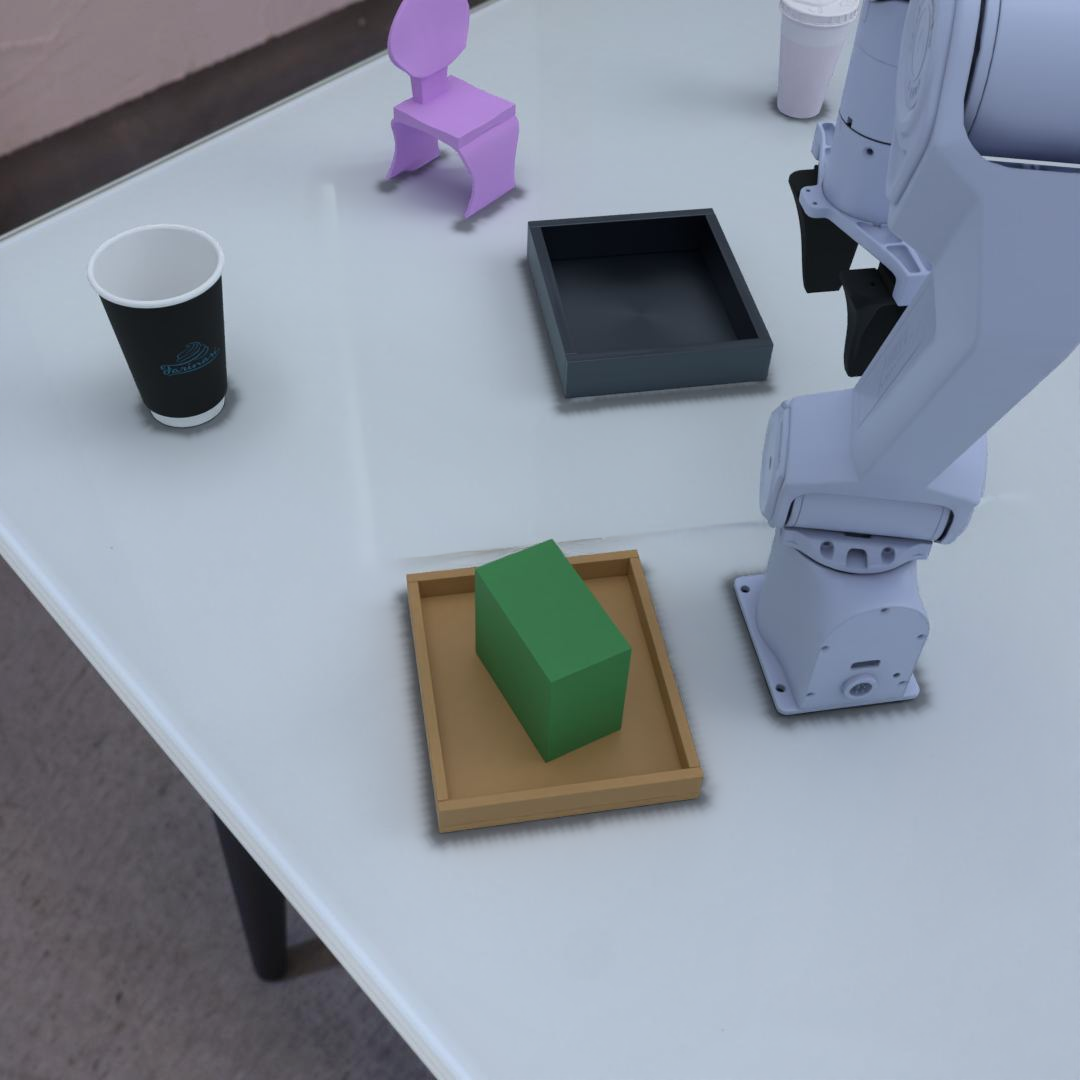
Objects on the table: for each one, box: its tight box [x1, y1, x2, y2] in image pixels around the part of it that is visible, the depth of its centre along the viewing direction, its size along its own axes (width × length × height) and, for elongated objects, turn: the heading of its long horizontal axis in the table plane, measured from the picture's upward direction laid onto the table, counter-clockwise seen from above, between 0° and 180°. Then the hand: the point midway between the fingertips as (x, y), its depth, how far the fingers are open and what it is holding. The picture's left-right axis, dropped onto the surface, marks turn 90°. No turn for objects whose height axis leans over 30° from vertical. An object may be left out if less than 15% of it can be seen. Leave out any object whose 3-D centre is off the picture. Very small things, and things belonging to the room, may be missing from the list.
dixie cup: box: [86, 223, 228, 428], centre depth 81 cm, size 8×8×11 cm
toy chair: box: [386, 0, 520, 219], centre depth 96 cm, size 8×9×15 cm
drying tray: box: [405, 548, 704, 834], centre depth 70 cm, size 15×13×2 cm
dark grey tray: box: [526, 207, 775, 400], centre depth 90 cm, size 16×14×4 cm
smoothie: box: [776, 0, 860, 119], centre depth 107 cm, size 6×6×14 cm
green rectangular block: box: [475, 538, 632, 763], centre depth 67 cm, size 4×8×7 cm, turn 29°
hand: (841, 329), depth 76 cm, fingers open, 7 cm apart
